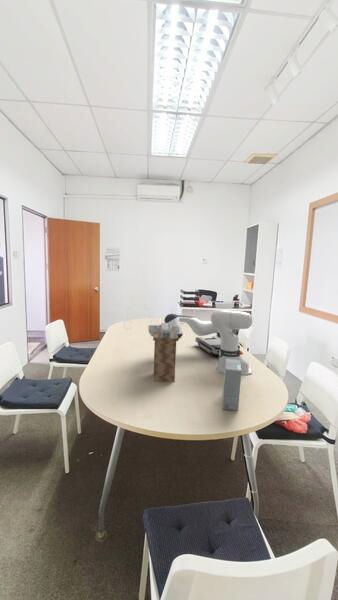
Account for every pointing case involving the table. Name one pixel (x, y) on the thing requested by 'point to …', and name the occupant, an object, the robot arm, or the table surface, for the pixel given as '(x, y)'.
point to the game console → (210, 345)
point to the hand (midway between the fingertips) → (164, 325)
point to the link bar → (165, 331)
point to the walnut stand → (164, 357)
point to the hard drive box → (231, 384)
